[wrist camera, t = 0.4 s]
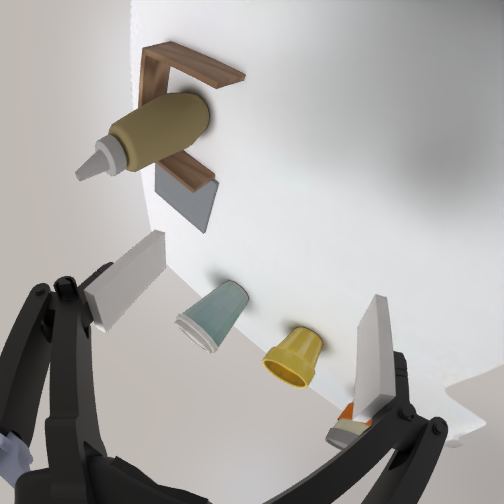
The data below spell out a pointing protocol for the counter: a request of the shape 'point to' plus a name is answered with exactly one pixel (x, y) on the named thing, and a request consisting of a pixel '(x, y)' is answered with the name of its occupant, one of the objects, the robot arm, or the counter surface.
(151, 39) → the counter surface
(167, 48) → the walnut nook
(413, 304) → the counter surface
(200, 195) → the slate mat
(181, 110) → the squeeze bottle
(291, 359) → the plant pot
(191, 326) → the disposable coffee cup
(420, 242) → the counter surface
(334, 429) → the reusable coffee cup
